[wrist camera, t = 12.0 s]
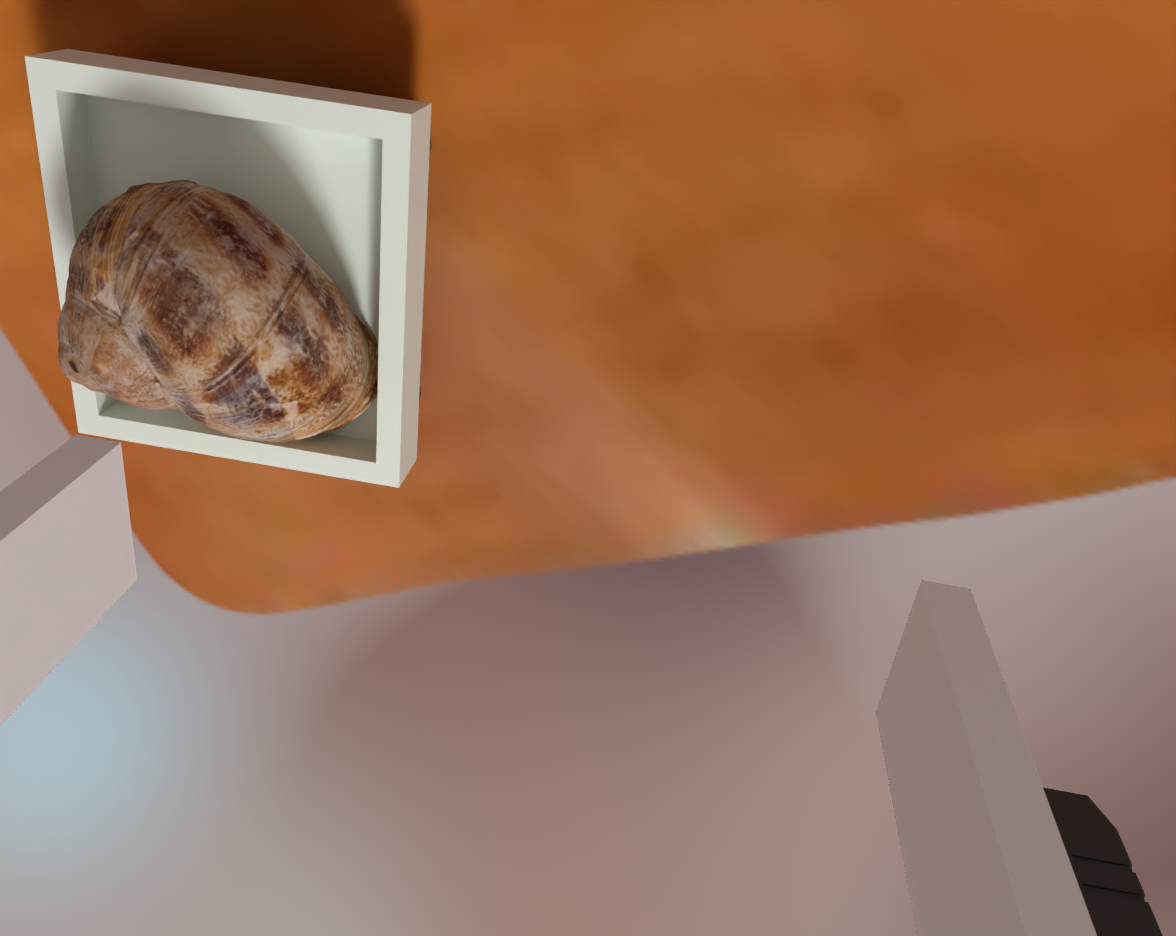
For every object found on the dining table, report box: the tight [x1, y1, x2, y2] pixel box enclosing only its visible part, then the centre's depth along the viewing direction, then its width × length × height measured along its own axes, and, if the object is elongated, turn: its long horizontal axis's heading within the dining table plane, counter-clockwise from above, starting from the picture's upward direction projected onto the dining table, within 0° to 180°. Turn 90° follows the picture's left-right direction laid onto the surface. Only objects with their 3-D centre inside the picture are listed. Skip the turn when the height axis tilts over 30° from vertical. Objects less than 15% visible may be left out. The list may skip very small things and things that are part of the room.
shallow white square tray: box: [25, 49, 431, 488], centre depth 40 cm, size 15×14×5 cm
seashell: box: [58, 180, 378, 442], centre depth 38 cm, size 10×9×10 cm
